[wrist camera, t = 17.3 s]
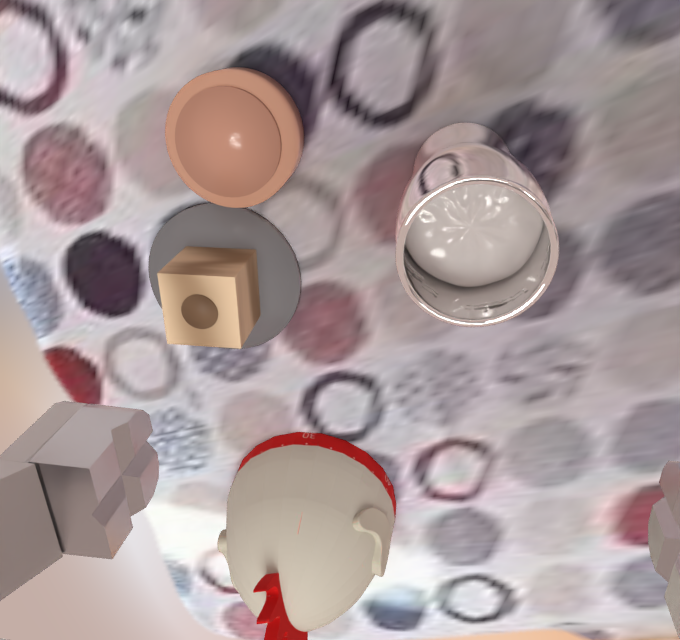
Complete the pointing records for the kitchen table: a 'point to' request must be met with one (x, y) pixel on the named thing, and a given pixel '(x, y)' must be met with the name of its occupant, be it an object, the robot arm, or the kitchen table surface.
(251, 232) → the coaster
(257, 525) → the kitchen timer
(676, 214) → the kitchen table surface
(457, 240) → the beer glass
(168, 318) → the oak block
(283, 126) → the ramekin
